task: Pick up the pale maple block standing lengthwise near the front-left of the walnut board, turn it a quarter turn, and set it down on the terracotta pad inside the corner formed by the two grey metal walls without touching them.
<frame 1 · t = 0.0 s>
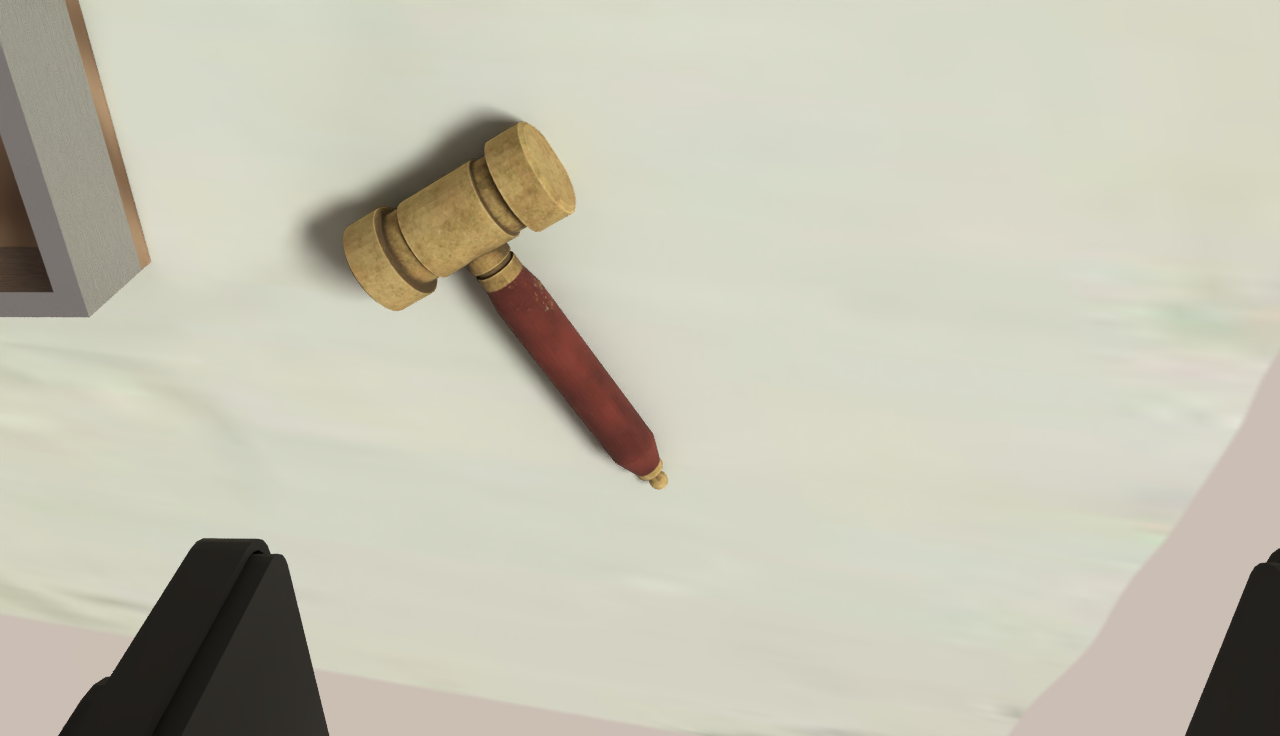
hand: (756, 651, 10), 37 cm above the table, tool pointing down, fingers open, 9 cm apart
gavel: (561, 329, 50), on the table
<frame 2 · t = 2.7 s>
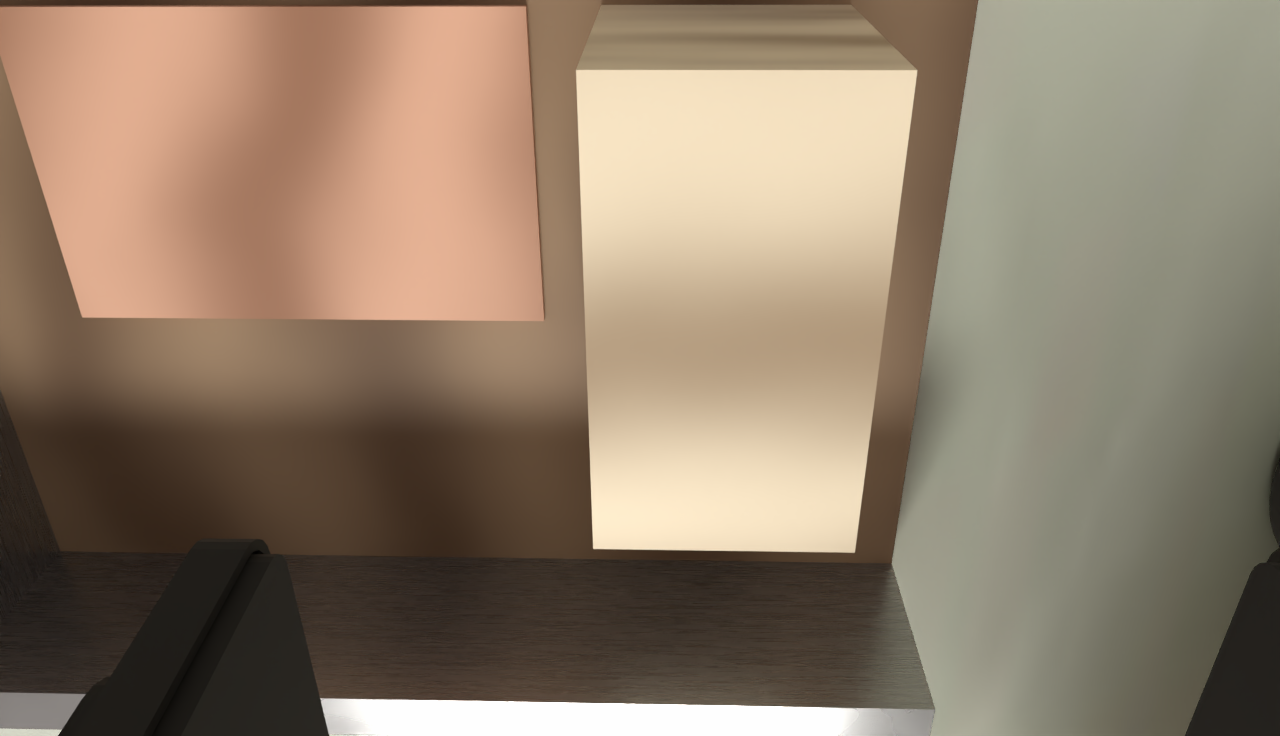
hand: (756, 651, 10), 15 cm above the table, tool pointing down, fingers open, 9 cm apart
walnut board: (421, 241, 23), on the table
metal walls: (383, 304, 20), on the walnut board, point 4 cm above the table
maple block: (718, 217, 22), point 1 cm above the table, touching walnut board
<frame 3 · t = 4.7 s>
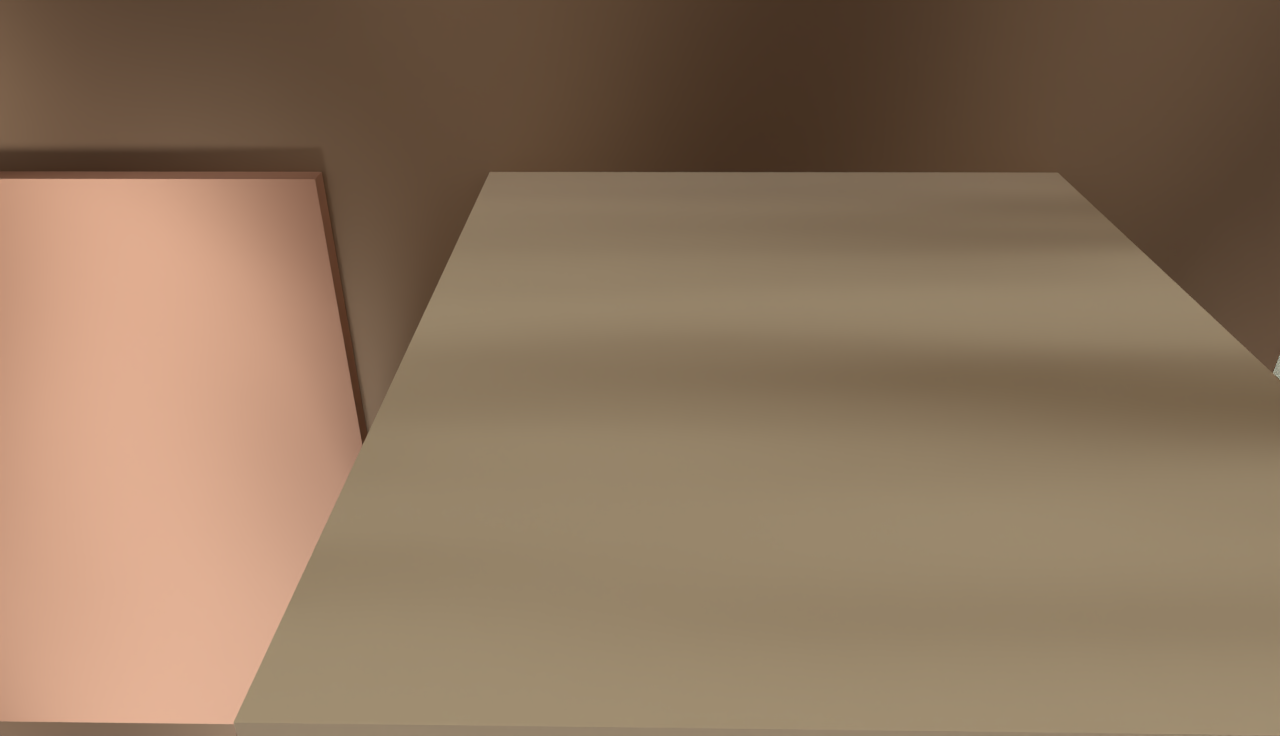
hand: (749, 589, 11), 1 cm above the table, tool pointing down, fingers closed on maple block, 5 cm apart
walnut board: (183, 565, 12), on the table
maple block: (746, 562, 11), point 1 cm above the table, touching gripper, walnut board
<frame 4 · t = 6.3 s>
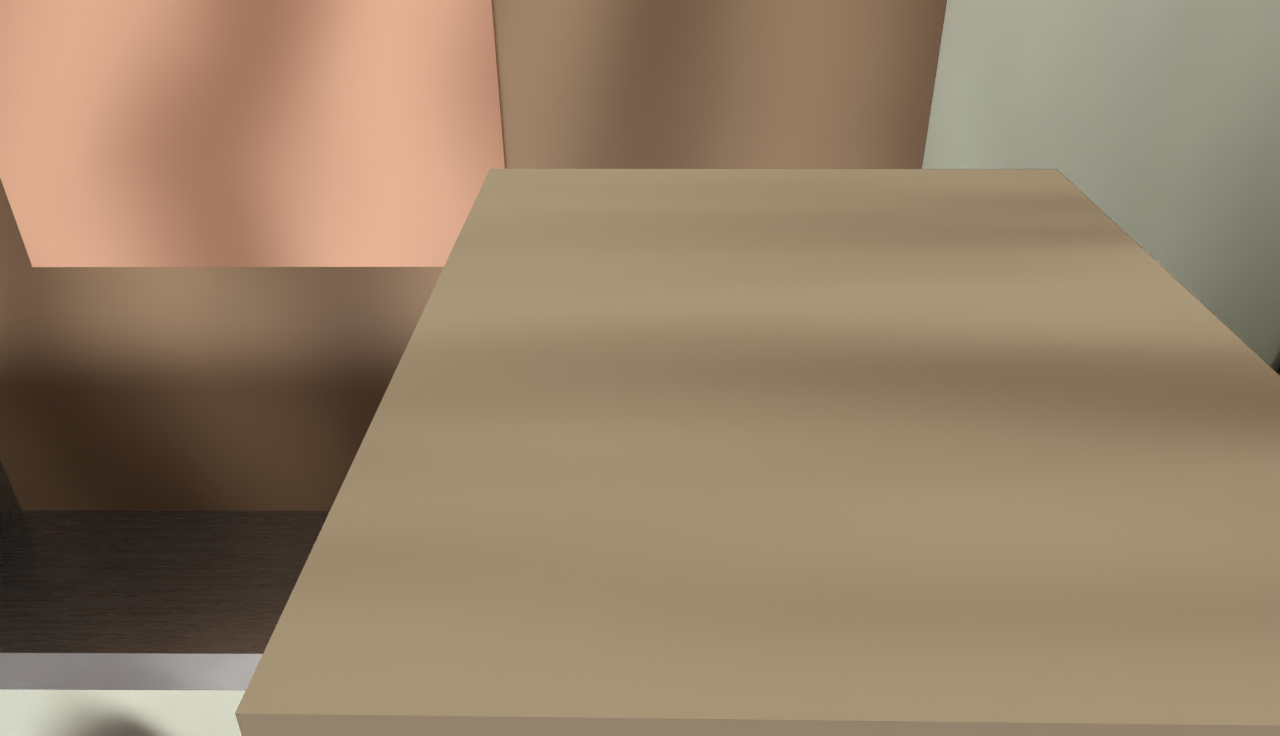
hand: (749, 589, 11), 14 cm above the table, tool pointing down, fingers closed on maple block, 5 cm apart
walnut board: (384, 185, 23), on the table
metal walls: (343, 248, 20), on the walnut board, point 4 cm above the table
maple block: (746, 559, 11), point 13 cm above the table, touching gripper
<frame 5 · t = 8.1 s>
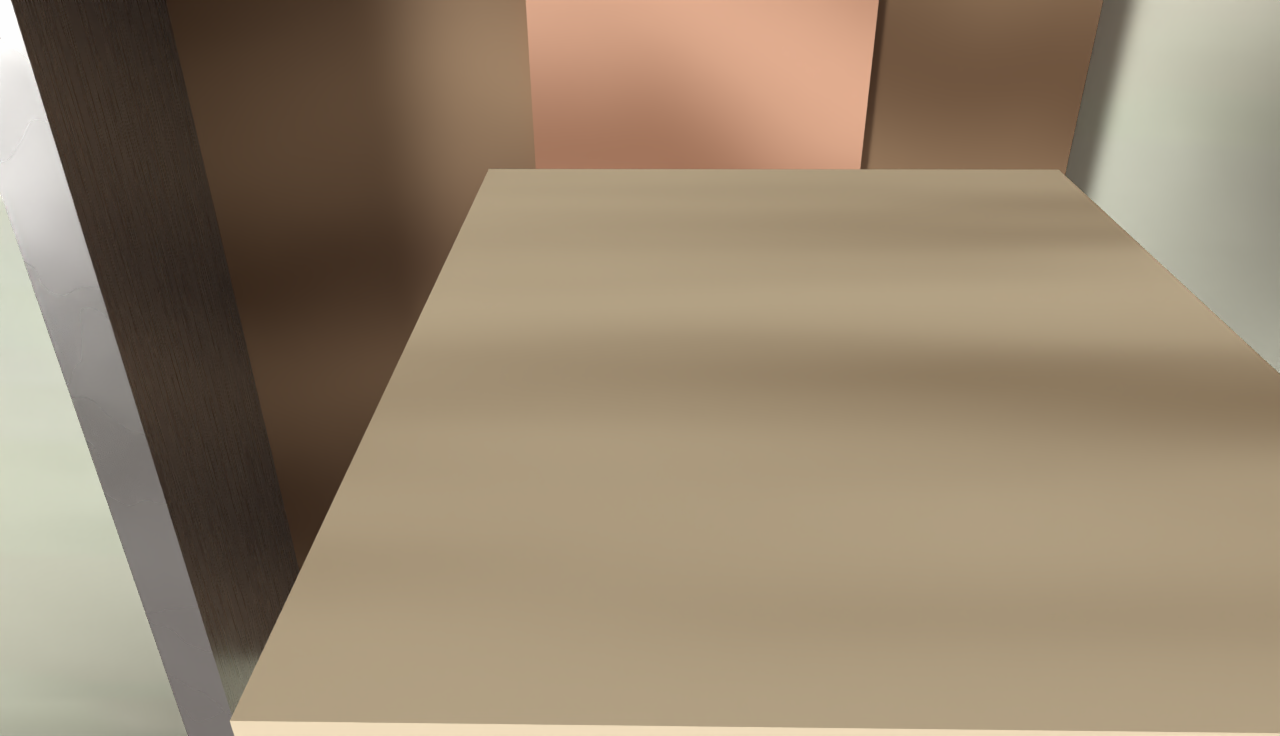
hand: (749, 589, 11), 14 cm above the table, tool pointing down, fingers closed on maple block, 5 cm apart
walnut board: (610, 276, 24), on the table
metal walls: (603, 345, 21), on the walnut board, point 4 cm above the table
maple block: (746, 561, 11), point 13 cm above the table, touching gripper
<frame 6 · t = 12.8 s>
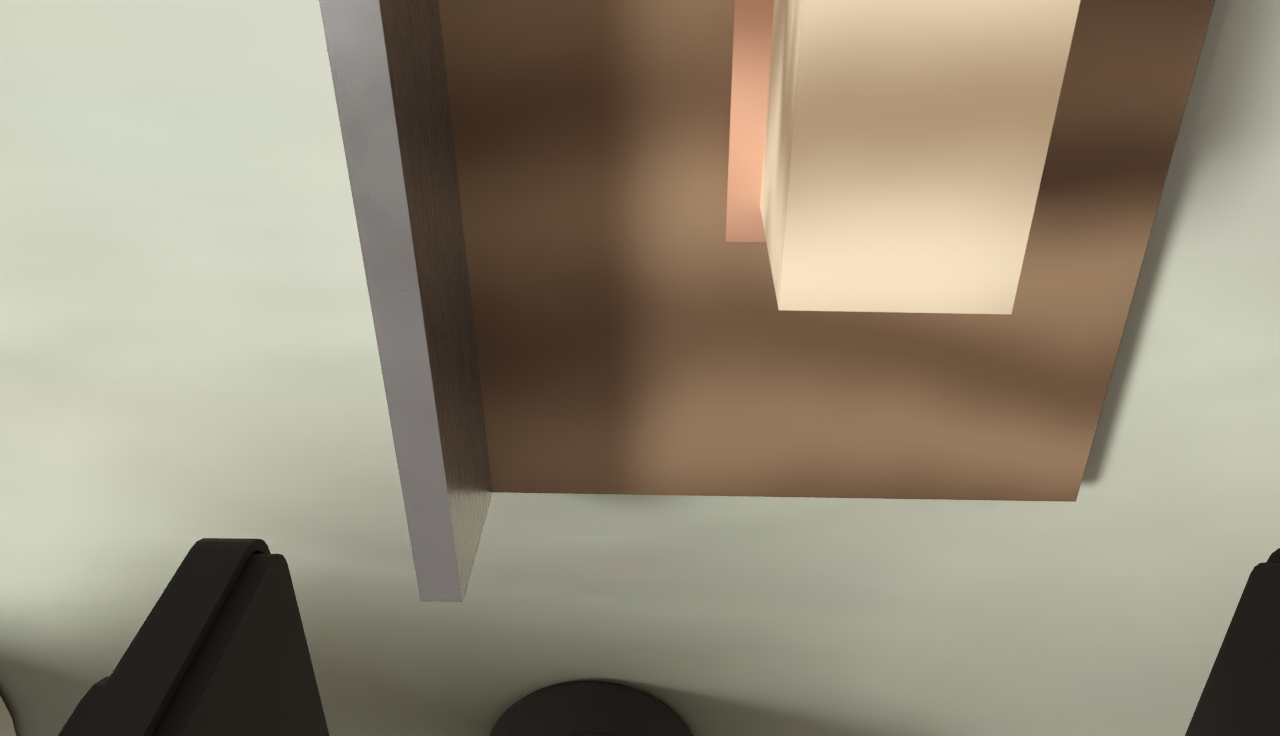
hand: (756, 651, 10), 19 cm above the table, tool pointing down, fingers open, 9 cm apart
walnut board: (783, 121, 26), on the table
metal walls: (796, 164, 23), on the walnut board, point 4 cm above the table
maple block: (873, 36, 24), point 1 cm above the table, touching walnut board
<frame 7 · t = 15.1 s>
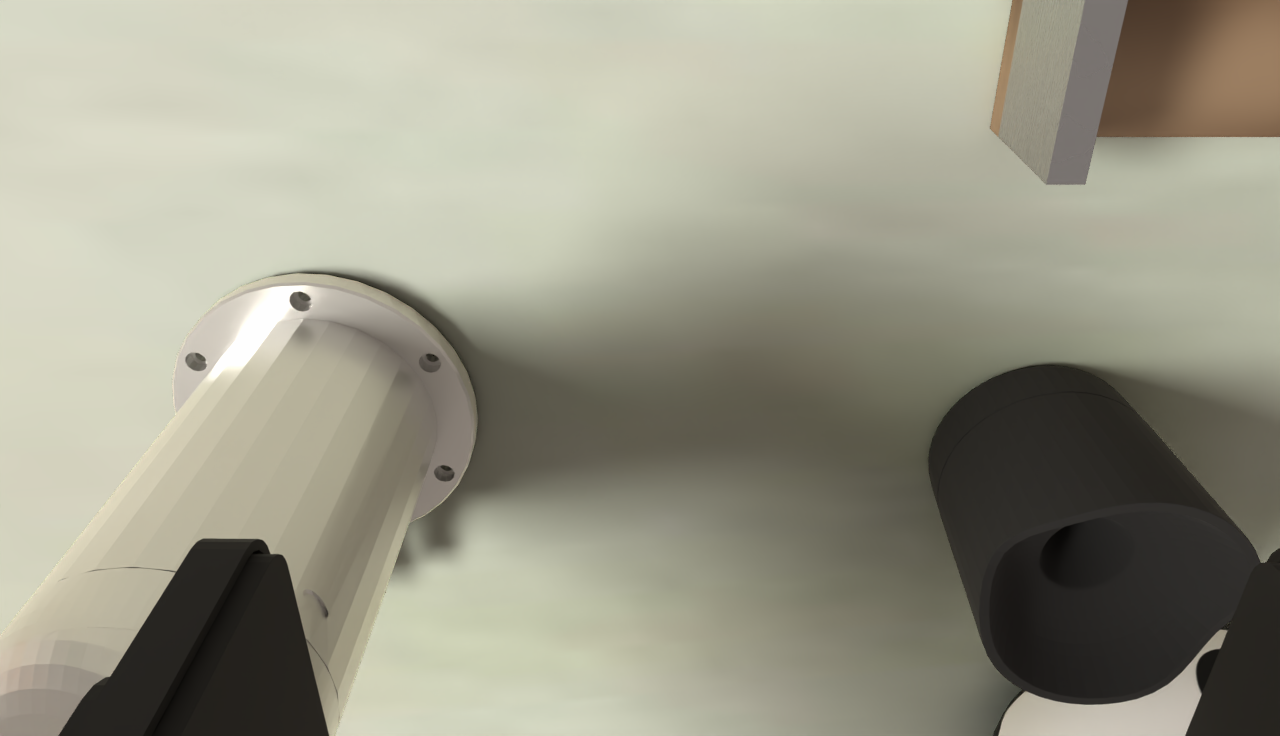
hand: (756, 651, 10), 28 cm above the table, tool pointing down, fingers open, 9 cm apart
pen holder: (1024, 443, 43), on the table
milk container: (1135, 714, 51), on the table
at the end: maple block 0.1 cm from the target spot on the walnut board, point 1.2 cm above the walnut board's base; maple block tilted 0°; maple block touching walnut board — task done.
